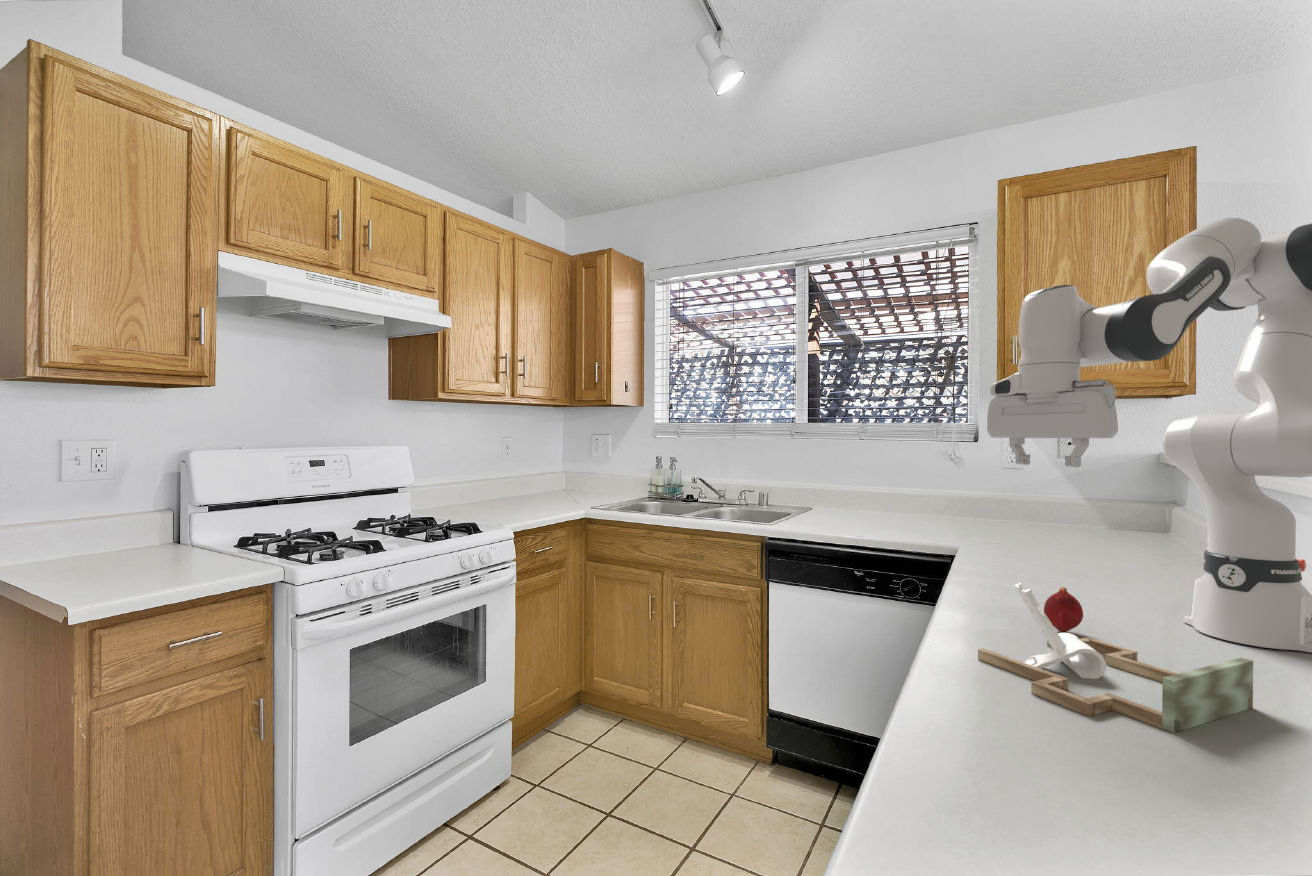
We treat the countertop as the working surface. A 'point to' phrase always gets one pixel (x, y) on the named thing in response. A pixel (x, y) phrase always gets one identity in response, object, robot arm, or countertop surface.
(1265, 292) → the robot arm
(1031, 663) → the plastic part
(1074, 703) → the trap lane
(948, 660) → the countertop surface
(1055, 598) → the onion
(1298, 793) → the countertop surface
